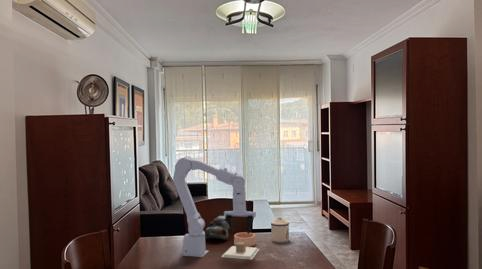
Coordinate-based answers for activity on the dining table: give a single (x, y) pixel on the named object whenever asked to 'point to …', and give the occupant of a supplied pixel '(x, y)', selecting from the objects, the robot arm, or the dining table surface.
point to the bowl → (245, 238)
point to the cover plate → (242, 255)
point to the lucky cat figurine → (218, 229)
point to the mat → (239, 257)
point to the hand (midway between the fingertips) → (240, 232)
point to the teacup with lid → (280, 230)
